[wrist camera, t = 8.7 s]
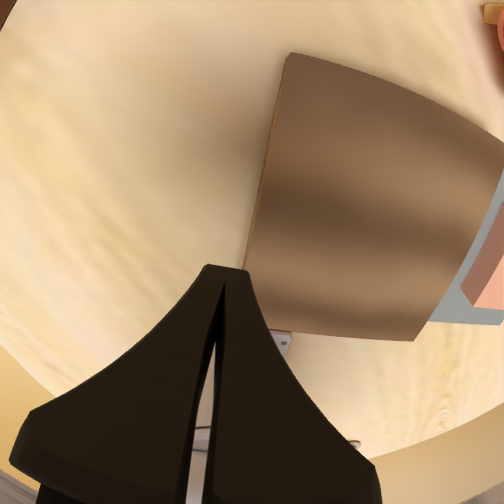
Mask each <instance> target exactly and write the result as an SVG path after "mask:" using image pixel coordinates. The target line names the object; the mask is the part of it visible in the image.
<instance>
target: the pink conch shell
mask: <svg viewBox="0 0 504 504" xmlns="http://www.w3.org/2000/svg"><path fill="white" fill-rule="evenodd" d="M484 22H485V23H490V24H494V25H498V28H497V29H498V38H499V41H500V44H501V47H502V49H503V51H504V3H498V4H486V5H485V8H484Z"/></svg>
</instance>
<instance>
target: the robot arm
mask: <svg viewBox="0 0 504 504" xmlns="http://www.w3.org/2000/svg"><path fill="white" fill-rule="evenodd" d="M291 340H292V336H291V334H290V333H288V332H281V331H273V330H269V329H268V327H267V324H266V322H265V320H264V317H263V315H262V312H261V310H260V307H259V305H258V302H257V299H256V296H255V293H254V290H253V286H252V282H251V278H250V274H249V272H248V271H247V270H241V269H235V268H229V267H223V266H217V265H211V264H207V265H205V266H204V267H203V269H202V270H201V272H200V274H199V275H198V277H197V278H196V280H195V281H194V282H193V284H192V285H191V286H190V288H189V289H188V290H187V292H186V293H185V294H184V295H183V296H182V298H181V299H180V300H179V301H178V302H177V304H176V305H175V306H174V307H173V308H172V309H171V310H170V311H169V312H168V313H167V314H166V316H165V317H164V318H163V319H162V320H161V321H160V322H159V323H158V324H157V325H156V326H155V327H154V328H153V329H152V330H151V331H150V332H149V333H148V334H147V335H145V336H144V337H143V338H142V339H141V340H140V341H139V342H138V343H136V344H135V345H134V346H133V347H132V348H131V349H129V350H128V351H127V352H125V353H124V354H123V355H122V356H120V357H119V358H118V359H117V360H115V361H114V362H113V363H111V364H110V365H109V366H107V367H106V368H104V369H103V370H102V371H100V372H99V373H97V374H95V375H94V376H92V377H91V378H89V379H88V380H86V381H85V382H83V383H81V384H80V385H78V386H77V387H75V388H73V389H72V390H70V391H68V392H67V393H65V394H63V395H61V396H59V397H57V398H55V399H53V400H51V401H49V402H48V403H45V404H43V405H41V406H40V407H37V408H35V409H34V410H32V411H30V412H29V415H28V416H27V418H26V420H25V421H24V423H23V424H22V427H21V428H20V431H19V433H18V436H17V438H16V441H15V443H14V446H13V449H12V452H11V454H10V457H9V462H10V464H11V465H12V466H14V467H15V468H17V469H18V470H20V471H21V472H23V473H25V474H26V475H28V476H29V477H31V478H33V479H34V480H36V481H38V482H39V483H41V485H40V488H39V491H37V490H35V489H33V488H31V487H29V486H27V485H25V484H24V483H22V482H20V481H19V480H17V479H16V478H14V477H12V476H11V475H9V474H7V473H6V472H4V471H3V470H1V469H0V504H382V496H381V488H380V483H379V479H378V476H377V473H376V469H375V466H374V465H373V464H372V463H371V462H370V461H369V460H367V459H366V458H365V457H364V456H363V455H362V454H361V453H360V452H358V451H357V450H356V449H355V448H354V447H353V446H352V445H351V444H350V443H349V442H348V441H347V440H346V439H345V438H344V437H343V436H342V435H341V434H340V433H339V432H338V430H337V429H336V428H335V427H334V426H333V425H332V424H331V423H330V422H329V421H328V420H327V418H326V417H325V416H324V415H323V413H322V412H321V411H320V410H319V408H318V407H317V406H316V405H315V403H314V402H313V401H312V400H311V398H310V397H309V396H308V395H307V393H306V392H305V391H304V389H303V388H302V386H301V385H300V383H299V382H298V380H297V379H296V377H295V376H294V374H293V373H292V371H291V370H290V368H289V366H288V365H287V363H286V361H285V360H284V356H285V354H286V352H287V349H288V347H289V345H290V342H291ZM283 341H285V342H283ZM459 504H504V482H503V481H502V482H500V483H499V484H497V485H495V486H493V487H492V488H490V489H488V490H486V491H484V492H482V493H481V494H478V495H476V496H474V497H472V498H470V499H468V500H465V501H463V502H461V503H459Z"/></svg>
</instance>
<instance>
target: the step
mask: <svg viewBox="0 0 504 504" xmlns="http://www.w3.org/2000/svg"><path fill="white" fill-rule="evenodd" d="M503 169H504V143H503V142H502V141H500V140H499V139H497V138H496V137H494V136H493V135H491V134H490V133H488V132H487V131H485V130H483V129H482V128H480V127H479V126H477V125H475V124H474V123H472V122H470V121H468V120H467V119H465V118H463V117H461V116H460V115H458V114H456V113H454V112H452V111H451V110H449V109H447V108H445V107H443V106H441V105H439V104H437V103H435V102H433V101H431V100H429V99H427V98H425V97H423V96H420V95H418V94H416V93H414V92H412V91H409V90H407V89H405V88H402V87H400V86H398V85H395V84H393V83H390V82H388V81H385V80H383V79H380V78H377V77H375V76H372V75H369V74H366V73H363V72H360V71H358V70H355V69H351V68H348V67H345V66H342V65H339V64H335V63H332V62H329V61H325V60H321V59H318V58H314V57H310V56H306V55H302V54H297V53H293V52H291V53H290V54H289V55H288V56H287V58H286V61H285V66H284V70H283V75H282V80H281V84H280V89H279V94H278V98H277V103H276V108H275V113H274V117H273V122H272V127H271V132H270V136H269V141H268V146H267V151H266V156H265V160H264V165H263V170H262V175H261V180H260V184H259V189H258V194H257V199H256V204H255V209H254V214H253V218H252V223H251V228H250V233H249V238H248V243H247V248H246V253H245V258H244V263H243V267H242V270H247V271H248V272H249V274H250V278H251V282H252V286H253V290H254V293H255V296H256V299H257V302H258V305H259V307H260V310H261V312H262V315H263V317H264V320H265V322H266V324H267V327H268V329H275V330H282V331H290V332H299V333H308V334H317V335H327V336H337V337H348V338H361V339H375V340H391V341H412V342H413V341H414V340H415V338H416V337H417V335H418V334H419V333H420V331H421V330H422V328H423V327H424V325H425V324H426V322H427V321H428V320H429V318H430V316H431V315H432V313H433V312H434V310H435V309H436V307H437V306H438V304H439V303H440V301H441V299H442V298H443V296H444V294H445V293H446V291H447V289H448V288H449V286H450V284H451V283H452V281H453V279H454V277H455V276H456V274H457V272H458V270H459V269H460V267H461V265H462V263H463V261H464V259H465V257H466V255H467V254H468V252H469V250H470V248H471V246H472V244H473V242H474V240H475V237H476V235H477V233H478V231H479V229H480V227H481V225H482V222H483V220H484V218H485V216H486V213H487V211H488V209H489V206H490V204H491V201H492V199H493V196H494V194H495V191H496V189H497V186H498V183H499V181H500V178H501V175H502V172H503Z"/></svg>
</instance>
